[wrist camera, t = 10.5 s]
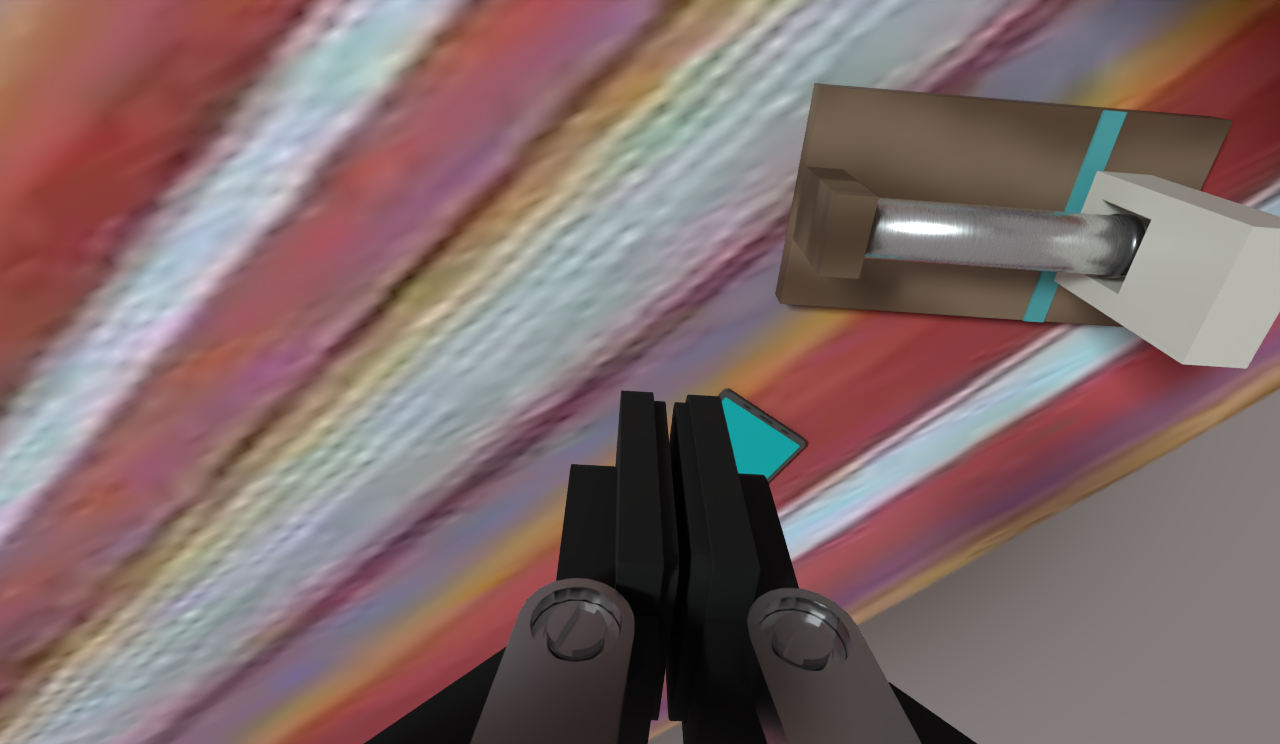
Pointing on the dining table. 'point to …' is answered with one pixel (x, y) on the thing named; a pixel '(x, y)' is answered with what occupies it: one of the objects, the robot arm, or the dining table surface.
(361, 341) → the dining table surface
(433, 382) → the dining table surface
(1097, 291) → the collar
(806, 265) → the pipe rig
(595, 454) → the dining table surface
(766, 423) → the smartphone
